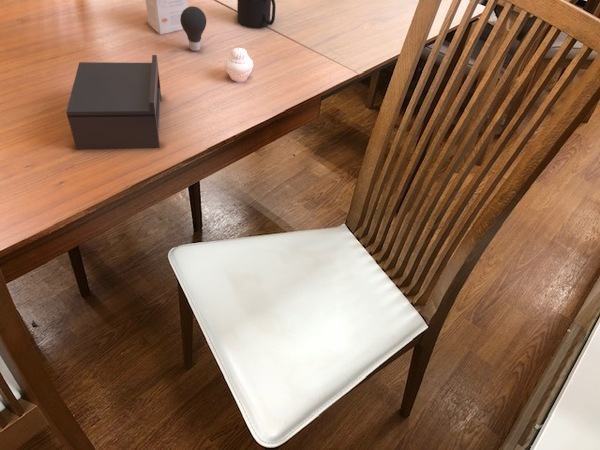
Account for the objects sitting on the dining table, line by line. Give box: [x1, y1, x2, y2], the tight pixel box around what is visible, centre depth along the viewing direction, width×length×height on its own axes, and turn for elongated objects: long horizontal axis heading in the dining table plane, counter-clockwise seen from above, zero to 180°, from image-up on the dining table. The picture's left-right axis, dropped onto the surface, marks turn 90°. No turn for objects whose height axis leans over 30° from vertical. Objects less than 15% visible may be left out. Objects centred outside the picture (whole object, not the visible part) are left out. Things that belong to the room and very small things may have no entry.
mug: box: [236, 0, 277, 30], centre depth 125 cm, size 8×12×10 cm
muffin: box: [223, 47, 254, 83], centre depth 107 cm, size 6×6×7 cm
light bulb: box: [180, 5, 207, 52], centre depth 113 cm, size 6×6×10 cm
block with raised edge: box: [65, 54, 163, 151], centre depth 91 cm, size 14×16×10 cm
